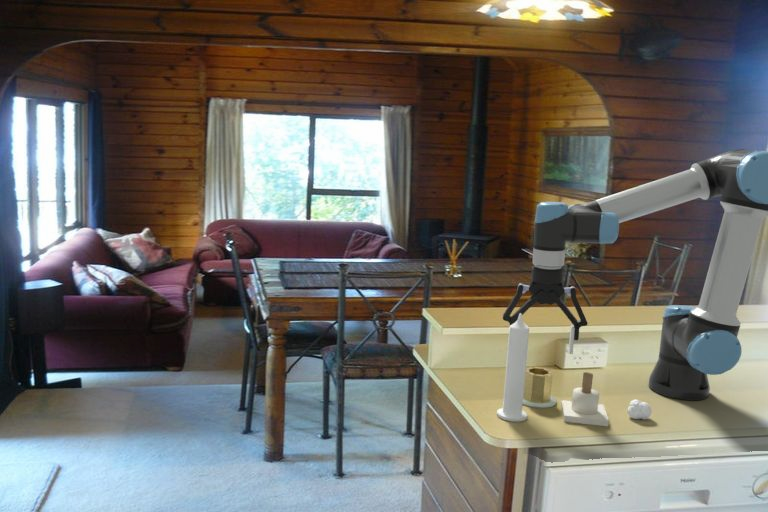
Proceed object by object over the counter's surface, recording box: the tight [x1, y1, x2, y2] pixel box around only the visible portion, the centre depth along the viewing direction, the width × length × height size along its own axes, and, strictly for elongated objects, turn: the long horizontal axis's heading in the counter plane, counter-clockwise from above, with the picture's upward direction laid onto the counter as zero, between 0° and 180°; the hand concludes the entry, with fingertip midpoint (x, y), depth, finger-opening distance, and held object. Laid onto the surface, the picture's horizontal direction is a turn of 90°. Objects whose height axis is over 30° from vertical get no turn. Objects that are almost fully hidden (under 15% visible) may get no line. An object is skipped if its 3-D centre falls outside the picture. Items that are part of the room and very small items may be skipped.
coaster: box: [523, 394, 558, 409], centre depth 185 cm, size 10×10×1 cm
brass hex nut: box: [523, 366, 554, 403], centre depth 185 cm, size 7×7×7 cm
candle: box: [496, 313, 530, 423], centre depth 173 cm, size 7×7×25 cm
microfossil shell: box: [627, 399, 652, 421], centre depth 178 cm, size 4×5×6 cm
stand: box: [560, 371, 610, 427], centre depth 176 cm, size 10×10×10 cm
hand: (542, 350), depth 183 cm, fingers open, 13 cm apart
